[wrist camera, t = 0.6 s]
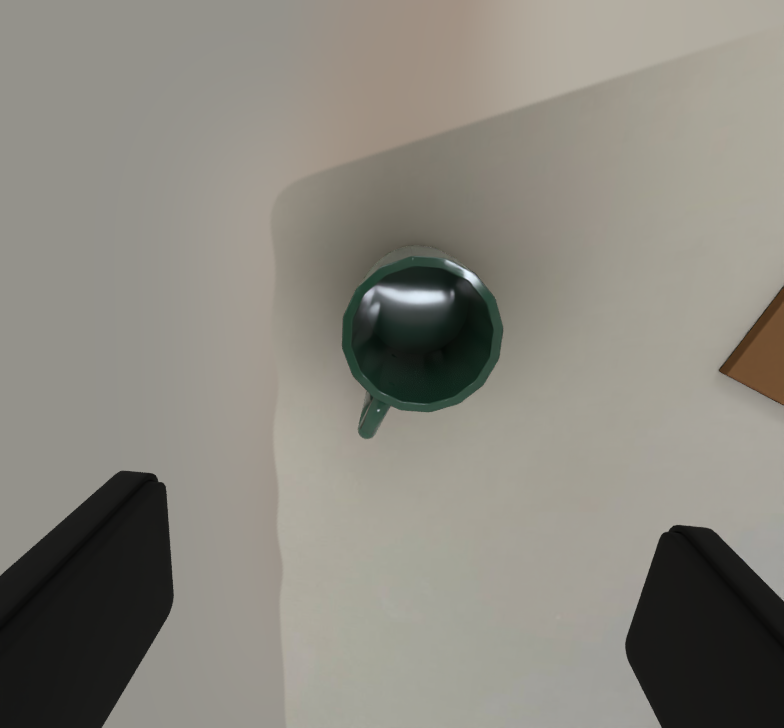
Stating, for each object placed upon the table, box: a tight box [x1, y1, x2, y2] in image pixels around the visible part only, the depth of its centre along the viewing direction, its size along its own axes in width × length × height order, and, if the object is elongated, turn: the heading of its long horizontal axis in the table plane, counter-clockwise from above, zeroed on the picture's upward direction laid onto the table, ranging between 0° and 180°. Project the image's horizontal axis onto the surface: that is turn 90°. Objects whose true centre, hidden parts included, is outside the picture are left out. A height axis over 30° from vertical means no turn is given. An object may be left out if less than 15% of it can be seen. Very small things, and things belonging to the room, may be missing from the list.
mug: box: [342, 245, 503, 439], centre depth 25 cm, size 10×7×9 cm
